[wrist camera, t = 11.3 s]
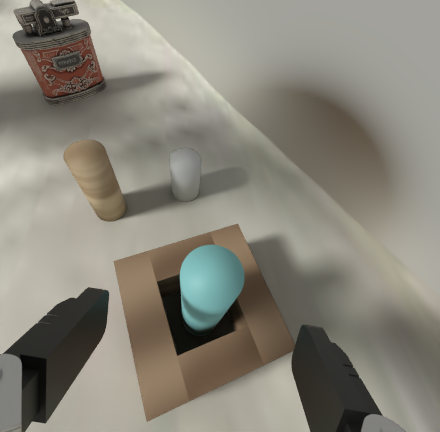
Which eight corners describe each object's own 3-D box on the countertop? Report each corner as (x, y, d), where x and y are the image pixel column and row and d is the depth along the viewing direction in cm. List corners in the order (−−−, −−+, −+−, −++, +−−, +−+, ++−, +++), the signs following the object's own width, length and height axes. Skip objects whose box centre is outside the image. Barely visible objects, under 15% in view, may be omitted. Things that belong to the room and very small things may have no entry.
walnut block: (127, 280, 23) (113, 261, 19) (229, 247, 26) (237, 223, 21) (156, 408, 19) (146, 421, 14) (275, 352, 21) (297, 349, 17)
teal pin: (178, 306, 22) (171, 255, 12) (210, 294, 23) (229, 237, 13) (188, 341, 21) (192, 318, 11) (222, 327, 22) (255, 293, 12)
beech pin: (93, 200, 27) (61, 143, 20) (123, 193, 28) (102, 136, 21) (98, 224, 25) (65, 172, 19) (129, 216, 26) (108, 163, 19)
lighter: (52, 108, 33) (4, 17, 24) (41, 94, 34) (-9, 2, 25) (110, 88, 36) (87, 2, 27) (99, 76, 37) (72, -11, 29)
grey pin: (168, 183, 29) (165, 151, 25) (194, 177, 30) (195, 145, 25) (176, 204, 28) (174, 174, 23) (202, 197, 28) (205, 167, 24)
